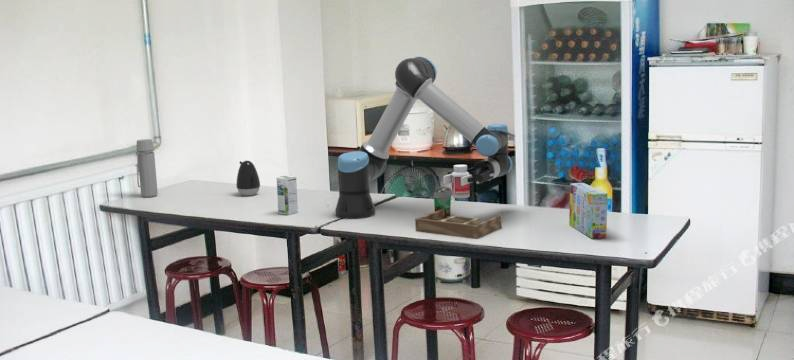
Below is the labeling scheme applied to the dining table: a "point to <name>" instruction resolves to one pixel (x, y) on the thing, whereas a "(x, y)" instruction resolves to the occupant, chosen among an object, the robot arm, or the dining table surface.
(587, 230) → the snack box
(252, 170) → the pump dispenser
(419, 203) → the dining table surface
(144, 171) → the water bottle
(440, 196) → the food container
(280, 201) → the syrup box
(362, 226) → the dining table surface
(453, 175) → the pill bottle
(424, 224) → the walled tray
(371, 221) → the dining table surface
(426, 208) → the dining table surface
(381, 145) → the robot arm
